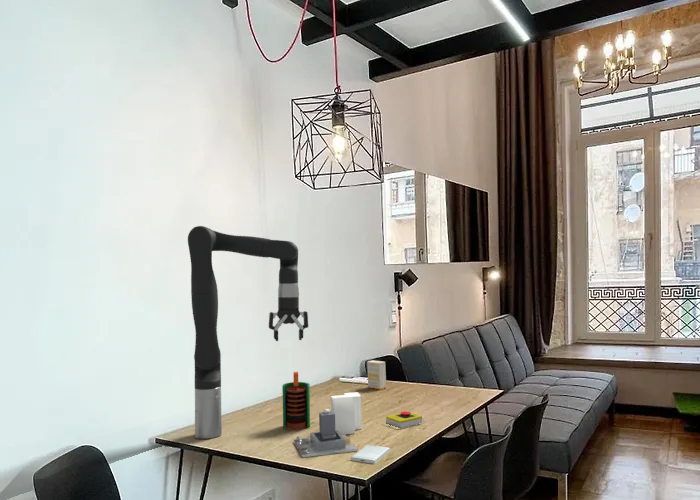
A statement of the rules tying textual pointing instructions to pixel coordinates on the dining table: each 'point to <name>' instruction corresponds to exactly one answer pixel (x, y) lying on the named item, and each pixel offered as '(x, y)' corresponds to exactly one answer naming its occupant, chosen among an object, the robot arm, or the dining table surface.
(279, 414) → the dining table surface
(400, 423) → the emergency button
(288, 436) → the dining table surface
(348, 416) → the corner bracket
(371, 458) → the hard drive
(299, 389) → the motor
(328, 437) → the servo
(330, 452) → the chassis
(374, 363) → the supplement box
